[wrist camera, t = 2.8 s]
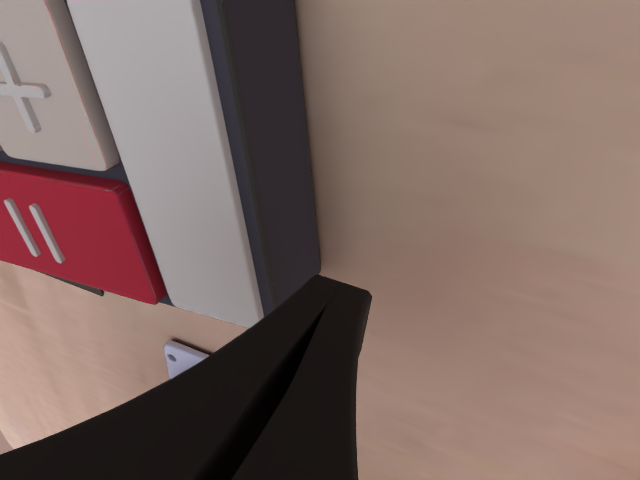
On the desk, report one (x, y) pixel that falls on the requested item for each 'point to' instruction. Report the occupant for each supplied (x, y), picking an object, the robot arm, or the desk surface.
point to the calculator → (158, 150)
